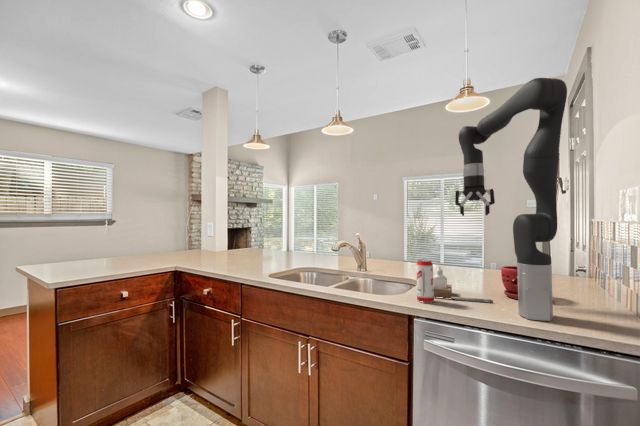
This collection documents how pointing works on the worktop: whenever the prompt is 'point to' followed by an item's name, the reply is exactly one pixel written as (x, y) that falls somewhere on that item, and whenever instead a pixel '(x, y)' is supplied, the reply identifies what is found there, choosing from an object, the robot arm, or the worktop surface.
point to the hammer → (447, 294)
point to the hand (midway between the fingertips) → (474, 215)
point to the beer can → (425, 280)
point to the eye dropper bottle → (439, 280)
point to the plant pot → (510, 281)
